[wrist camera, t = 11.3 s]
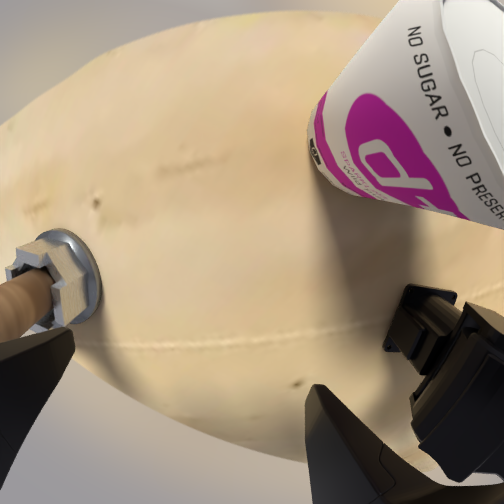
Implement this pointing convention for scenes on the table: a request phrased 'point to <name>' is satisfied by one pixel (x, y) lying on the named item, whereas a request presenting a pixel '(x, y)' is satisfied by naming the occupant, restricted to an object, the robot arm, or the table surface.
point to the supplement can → (421, 112)
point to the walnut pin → (24, 302)
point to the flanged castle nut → (62, 276)
